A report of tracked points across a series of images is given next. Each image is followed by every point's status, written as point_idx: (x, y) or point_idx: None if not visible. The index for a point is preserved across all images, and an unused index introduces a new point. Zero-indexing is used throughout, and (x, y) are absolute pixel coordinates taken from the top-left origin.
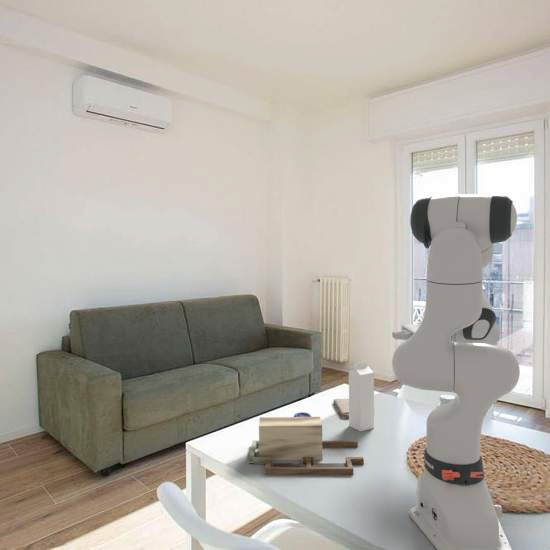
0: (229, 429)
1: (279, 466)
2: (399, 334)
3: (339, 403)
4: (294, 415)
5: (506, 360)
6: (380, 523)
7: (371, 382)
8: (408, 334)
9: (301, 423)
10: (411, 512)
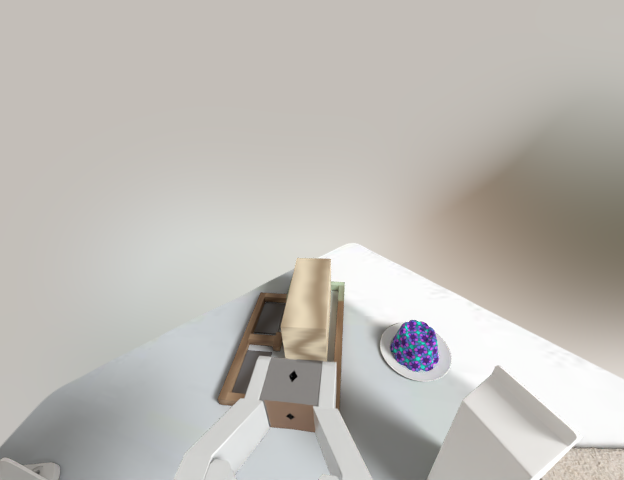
0: (396, 266)
1: (274, 309)
2: (249, 395)
3: (607, 455)
4: (414, 320)
5: None
6: (80, 408)
7: (503, 477)
8: (180, 474)
9: (296, 300)
10: (46, 463)
